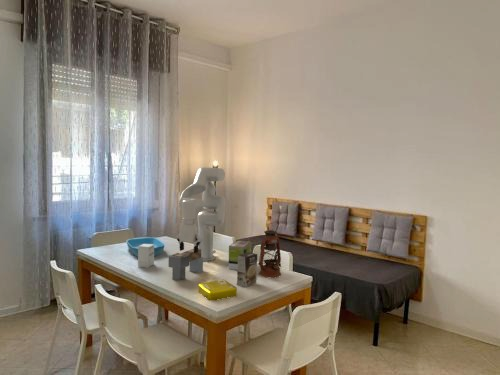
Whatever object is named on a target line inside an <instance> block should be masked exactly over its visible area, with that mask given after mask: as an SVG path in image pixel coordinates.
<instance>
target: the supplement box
mask: <svg viewBox="0 0 500 375" xmlns="http://www.w3.org/2000/svg"><path fill="white" fill-rule="evenodd" d="M153 265H155V256H154V244H142V245H140V246H138V257H137V267H139V268H150V267H152V266H153Z"/></svg>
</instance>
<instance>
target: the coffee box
mask: <svg viewBox="0 0 500 375" xmlns="http://www.w3.org/2000/svg"><path fill="white" fill-rule="evenodd" d="M236 272H237V274H236V275H237V278H236V285H237V286H240V287H243V288H247V287H250V286H253V285H255V284H257V275H258V273H257V272H258V254H257V253H253V252H251V253H249V252H248V253H244V254H240V255H238V270H236Z"/></svg>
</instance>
